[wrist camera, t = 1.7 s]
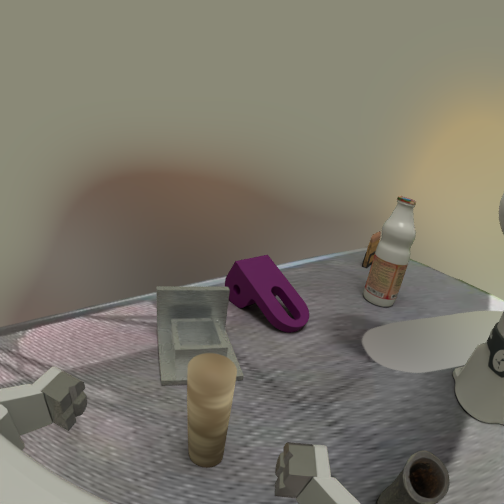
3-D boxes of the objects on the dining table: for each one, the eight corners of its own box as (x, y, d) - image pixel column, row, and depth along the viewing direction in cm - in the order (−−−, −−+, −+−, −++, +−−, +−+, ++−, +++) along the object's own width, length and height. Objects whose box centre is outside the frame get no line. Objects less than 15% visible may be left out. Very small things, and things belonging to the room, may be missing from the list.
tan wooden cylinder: (218, 439, 29) (230, 351, 24) (226, 465, 26) (242, 383, 21) (185, 442, 28) (184, 354, 23) (192, 469, 24) (191, 388, 19)
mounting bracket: (295, 338, 62) (251, 278, 70) (317, 318, 57) (267, 254, 65) (265, 354, 55) (220, 286, 64) (287, 333, 50) (235, 261, 59)
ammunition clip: (370, 260, 103) (378, 230, 99) (374, 261, 102) (382, 231, 98) (361, 266, 95) (370, 233, 91) (366, 268, 94) (375, 235, 90)
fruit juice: (365, 304, 68) (395, 196, 59) (360, 288, 77) (385, 191, 68) (397, 310, 67) (430, 205, 58) (389, 294, 76) (416, 200, 66)
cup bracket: (222, 329, 52) (228, 286, 49) (242, 380, 40) (251, 333, 37) (157, 331, 48) (156, 286, 45) (161, 385, 36) (158, 337, 33)
